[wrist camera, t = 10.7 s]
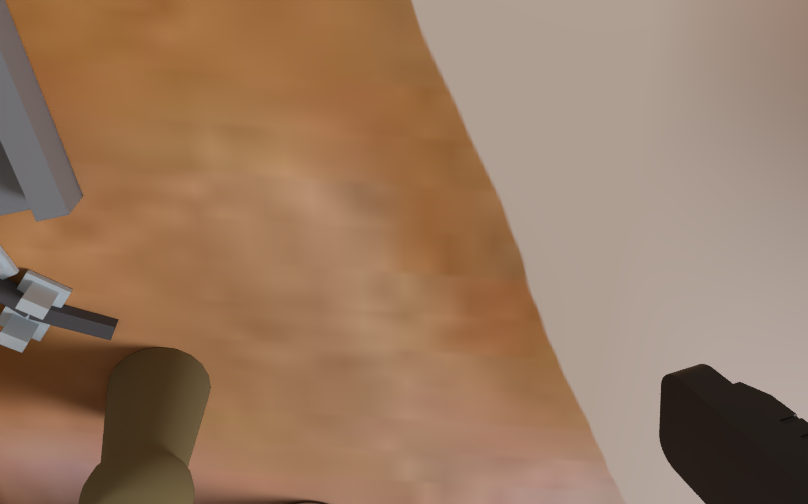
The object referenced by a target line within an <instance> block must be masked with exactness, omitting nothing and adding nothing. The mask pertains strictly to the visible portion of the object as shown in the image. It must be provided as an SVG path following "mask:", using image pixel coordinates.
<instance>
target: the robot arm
mask: <svg viewBox="0 0 808 504" xmlns="http://www.w3.org/2000/svg"><path fill="white" fill-rule="evenodd" d="M660 403H661V405H660V429H659V437H660V443H661V447H662V450H663V452H664V454H665V456H666V458H667V460H668V462H669V463H670V464H671V466H672V467H673V469H674V470H675V471H676V472H677V473H678V474H679V475H680V476H681V477H682V479H683V480H684V481H685V482H686V483H687V484H688V485H689V486H690V487H691V488H692V489H693V491H694V492H695V493H696V494H697V495H699V497H700V498H701V499H702V500H703V501H704V502H705V503H706V504H808V422H806V421H805V420H804V419H802V418H801V419H799V418H798V417H797V414H796V413H794V412H793V411H791V410H790V409H789V408H788V407H786V406H785V405H784V404H782V403H781V402H780V401H778V400H777V399H776V398H774V397H773V396H771V395H769V394H767V393H765V392H762V391H760V390H757V389H755V388H753V387H751V386H748V385H746V384H744V383H741V382H738V383H735V384H732V383H731V382H730V381H728V380H727V379H726V378H725V377H723V376H722V375H721V374H720V373H718V372H717V371H716V370H714V369H713V368H712V367H710V366H708V365H705V364H699V365H696V366H693V367H690V368H686V369H683V370H680V371H677V372H674V373H670V374H668V375H665V376H664V377H663V379H662V382H661V402H660ZM298 504H319V503H298Z"/></svg>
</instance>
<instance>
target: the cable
mask: <svg viewBox="0 0 808 504" xmlns="http://www.w3.org/2000/svg"><path fill="white" fill-rule="evenodd" d="M18 286H19V285H17V284H16V283H14V282H13V281H11V280H9V279H8V278H6V279H3V280H2V279H0V303H1V304H3V305H5V306H6V307H8V308H10V309H11V310H13V311H15V312H16V313H18V314H20V315H21V316H23V317H26V316H27V315H28V314H27V313H25V312H23V311H20V310H18V309H15V308H16V306H17V304H18V303H19V301H20V299H21V298H22V296H23V295H24V293H23V292H21V291H20V290H18V289H17V287H18ZM28 319H30V320H34V321H38V322H41V323H45V324H49V325H53V326H57V327H61V328H65V329H69V330H72V331H76V332H80V333H84V334H88V335H92V336H96V337H100V338H103V339H107V340H111V338H112V335H113V333H114V330H115V327H116V325H117V322H118V320H117V319H114V318H110V317H106V316H103V315H99V314H95V313H92V312H88V311H84V310H81V309H77V308H73V307H70V306H66V305H63V306H62V308H59V307H55V306H51V308H50V309H49V311H48V312H47V314H46V316H45V317H44V319H43V320H42V319H39V318H37V317H34V316H32V315H29V318H28Z"/></svg>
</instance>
